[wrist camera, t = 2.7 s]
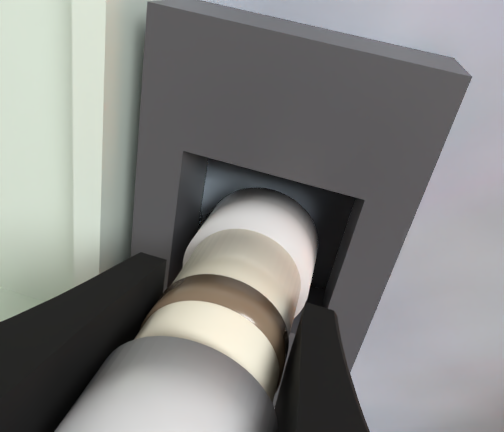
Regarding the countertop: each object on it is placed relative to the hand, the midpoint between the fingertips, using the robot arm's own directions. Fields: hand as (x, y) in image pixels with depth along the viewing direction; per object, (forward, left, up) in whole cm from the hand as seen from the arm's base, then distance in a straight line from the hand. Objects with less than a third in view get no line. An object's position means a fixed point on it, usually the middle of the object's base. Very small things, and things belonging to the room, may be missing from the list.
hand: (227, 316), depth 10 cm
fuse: (0, 0, -3) cm, 3 cm away
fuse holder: (0, 0, -5) cm, 5 cm away
